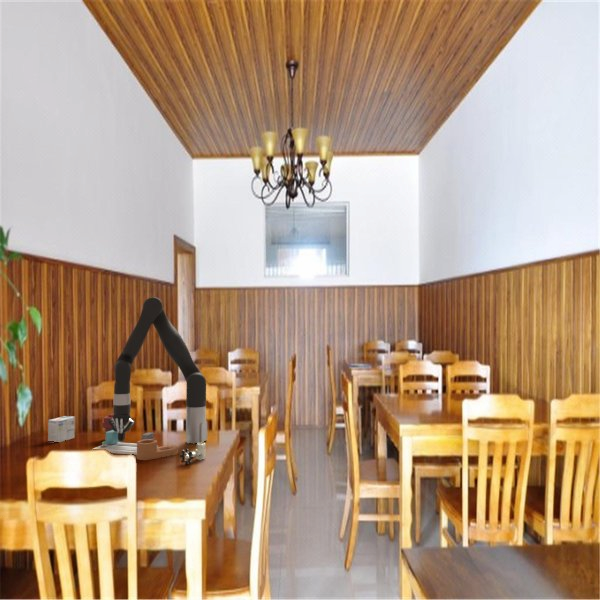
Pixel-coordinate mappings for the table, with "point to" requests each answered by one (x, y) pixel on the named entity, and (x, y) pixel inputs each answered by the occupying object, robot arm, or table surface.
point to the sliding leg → (111, 438)
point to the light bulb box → (61, 428)
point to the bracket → (154, 450)
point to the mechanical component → (107, 423)
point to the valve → (194, 453)
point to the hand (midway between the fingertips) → (121, 440)
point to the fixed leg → (148, 436)
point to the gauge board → (120, 448)
